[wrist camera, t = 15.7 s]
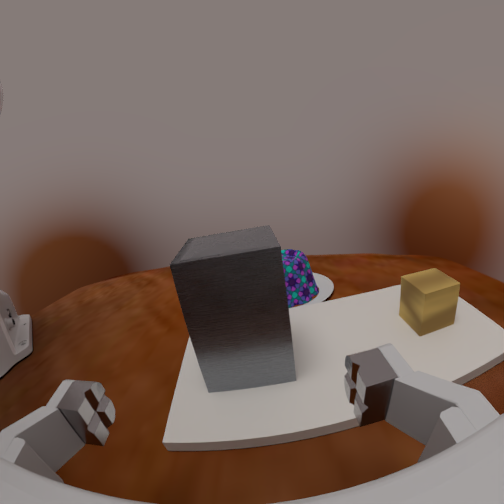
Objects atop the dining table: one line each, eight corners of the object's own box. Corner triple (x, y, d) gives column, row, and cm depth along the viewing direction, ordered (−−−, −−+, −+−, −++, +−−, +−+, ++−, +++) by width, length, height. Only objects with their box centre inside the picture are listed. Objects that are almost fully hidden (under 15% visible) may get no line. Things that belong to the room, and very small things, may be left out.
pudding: (330, 319, 28) (328, 272, 27) (225, 318, 33) (215, 276, 31) (335, 274, 39) (333, 238, 38) (255, 277, 43) (249, 244, 42)
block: (453, 323, 20) (460, 283, 19) (419, 336, 20) (425, 294, 19) (431, 305, 24) (434, 267, 23) (398, 315, 24) (401, 276, 23)
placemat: (167, 450, 15) (162, 442, 14) (195, 330, 30) (193, 322, 30) (516, 351, 14) (520, 342, 14) (428, 284, 30) (429, 277, 30)
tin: (296, 380, 19) (280, 246, 16) (208, 392, 19) (169, 264, 16) (284, 334, 25) (269, 225, 22) (214, 345, 25) (188, 238, 22)
